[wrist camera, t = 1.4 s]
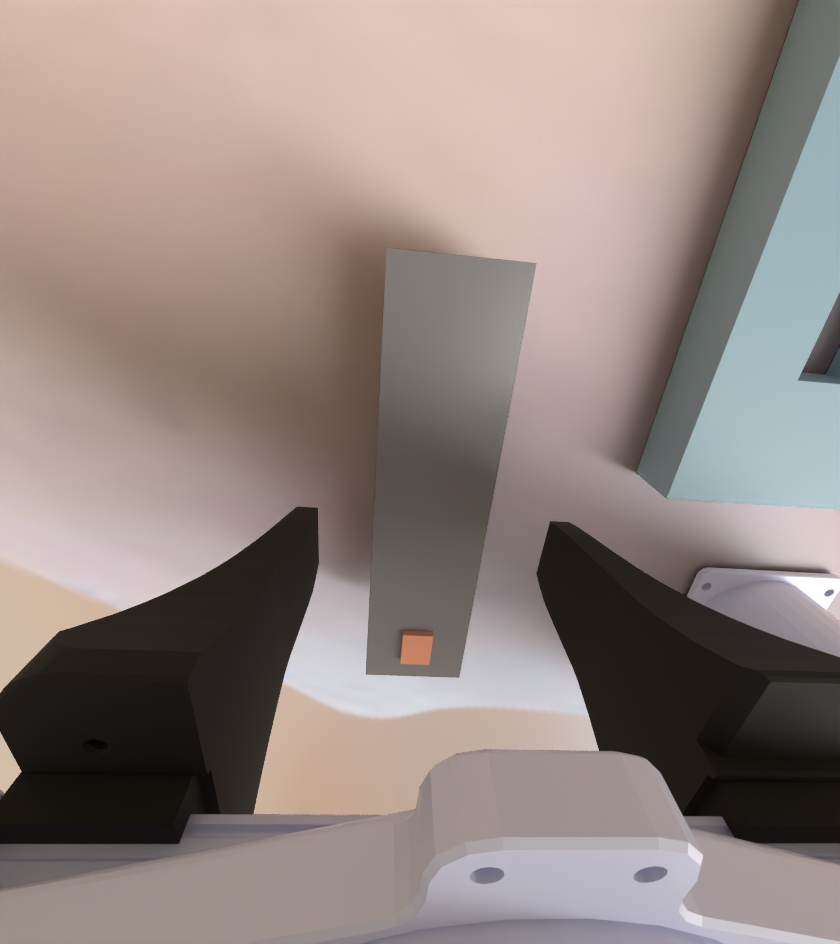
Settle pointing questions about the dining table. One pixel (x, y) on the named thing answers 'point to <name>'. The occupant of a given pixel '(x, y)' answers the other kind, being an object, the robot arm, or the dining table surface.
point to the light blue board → (766, 306)
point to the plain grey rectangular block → (438, 449)
